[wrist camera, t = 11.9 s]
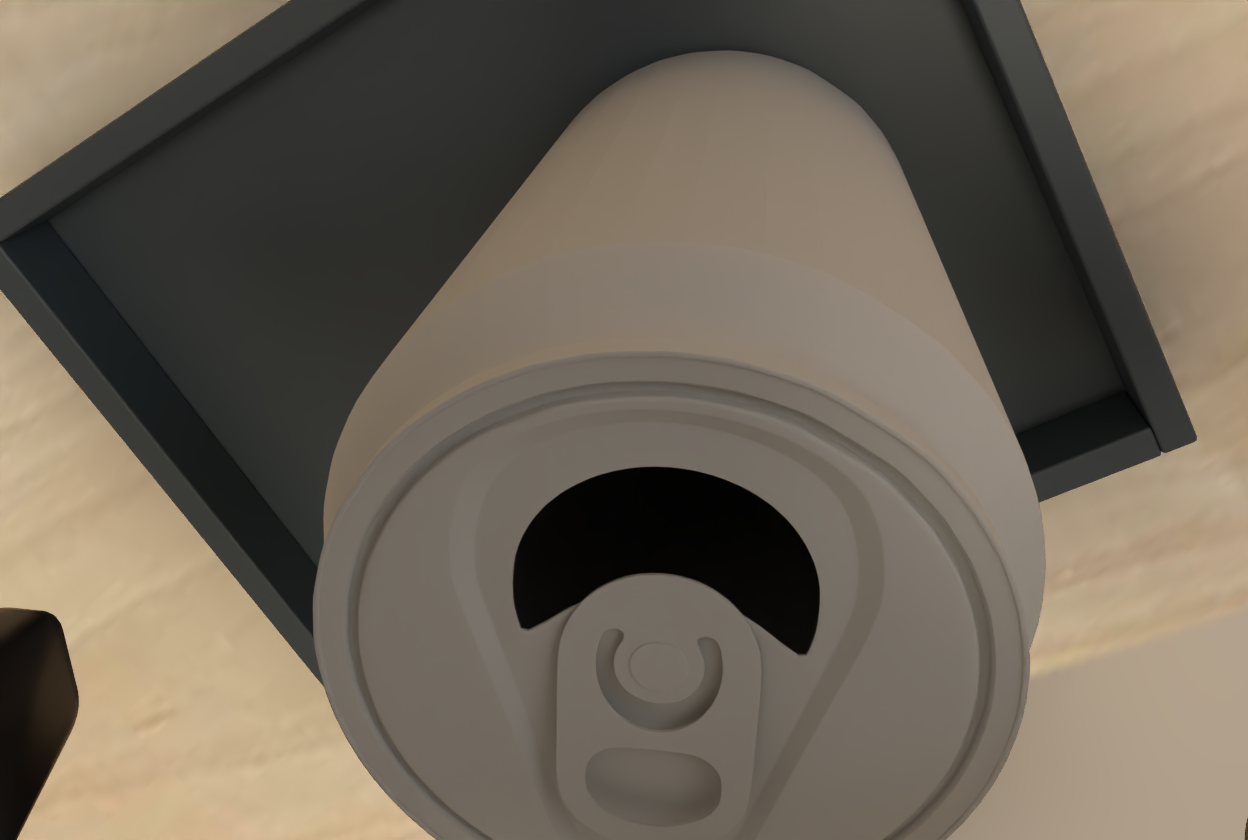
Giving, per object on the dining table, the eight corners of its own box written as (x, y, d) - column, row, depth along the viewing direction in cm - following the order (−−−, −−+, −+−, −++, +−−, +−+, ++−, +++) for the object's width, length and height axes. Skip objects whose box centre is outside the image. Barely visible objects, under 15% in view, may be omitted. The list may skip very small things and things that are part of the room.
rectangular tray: (851, -362, 16) (862, -391, 14) (1161, 390, 20) (1200, 441, 18) (19, 200, 21) (-50, 230, 19) (407, 696, 26) (380, 758, 24)
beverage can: (934, 50, 18) (1186, 331, 7) (882, 413, 20) (1003, 1008, 10) (538, 35, 18) (204, 267, 7) (542, 388, 21) (304, 923, 10)
